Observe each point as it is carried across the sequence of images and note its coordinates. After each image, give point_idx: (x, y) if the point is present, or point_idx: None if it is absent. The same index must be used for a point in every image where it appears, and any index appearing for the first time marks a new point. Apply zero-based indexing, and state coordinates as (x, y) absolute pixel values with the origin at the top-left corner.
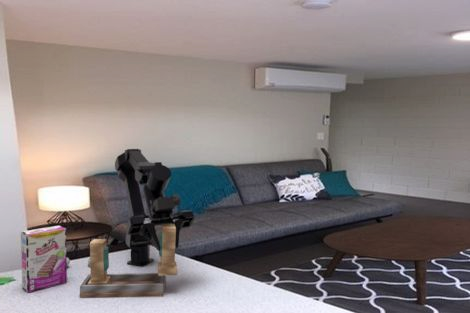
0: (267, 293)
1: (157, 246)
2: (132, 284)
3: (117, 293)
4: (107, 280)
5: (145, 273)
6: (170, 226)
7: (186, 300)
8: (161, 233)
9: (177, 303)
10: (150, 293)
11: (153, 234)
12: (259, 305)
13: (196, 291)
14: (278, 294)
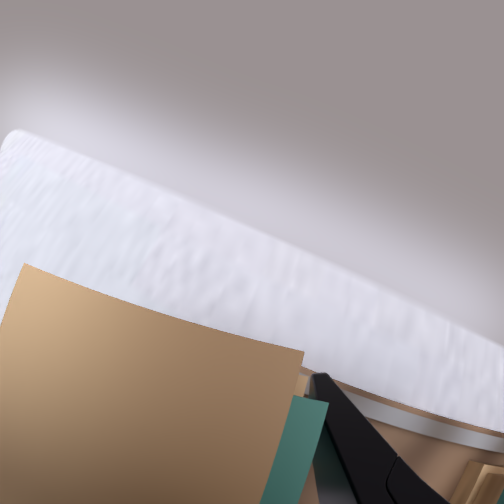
0: (14, 220)
1: (340, 396)
2: (407, 423)
3: (447, 418)
4: (473, 489)
5: None
6: (49, 440)
7: (216, 282)
8: (269, 495)
9: (256, 273)
10: (334, 380)
11: (406, 492)
12: (71, 167)
13: None
14: (6, 205)
